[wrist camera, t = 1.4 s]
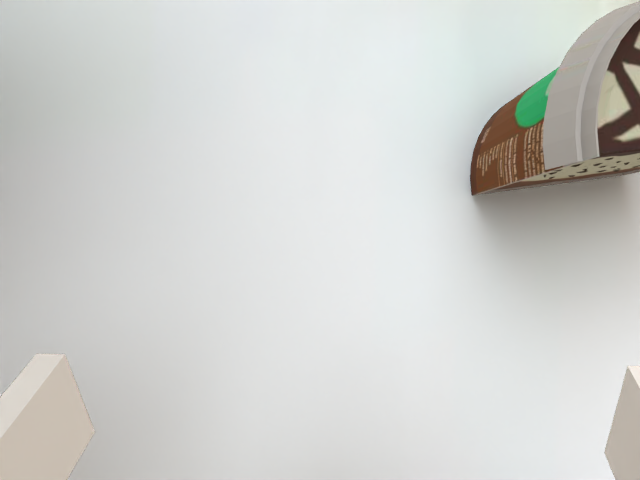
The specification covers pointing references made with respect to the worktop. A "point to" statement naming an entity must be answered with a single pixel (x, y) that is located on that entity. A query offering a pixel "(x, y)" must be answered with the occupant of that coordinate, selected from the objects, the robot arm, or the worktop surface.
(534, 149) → the food container
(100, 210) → the worktop surface
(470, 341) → the worktop surface
